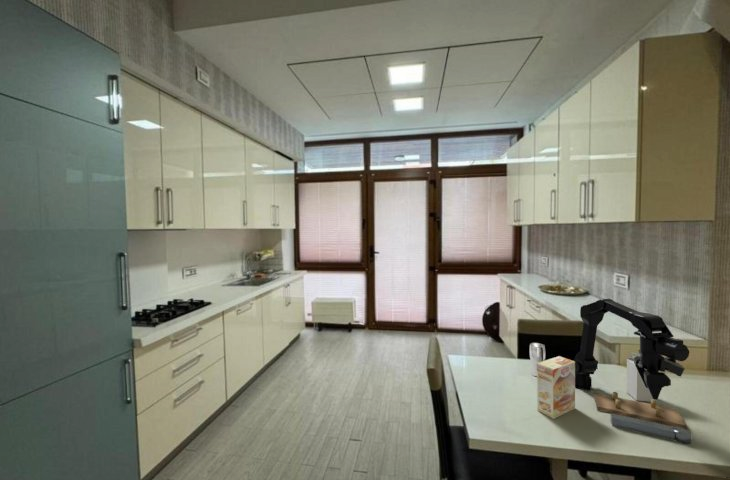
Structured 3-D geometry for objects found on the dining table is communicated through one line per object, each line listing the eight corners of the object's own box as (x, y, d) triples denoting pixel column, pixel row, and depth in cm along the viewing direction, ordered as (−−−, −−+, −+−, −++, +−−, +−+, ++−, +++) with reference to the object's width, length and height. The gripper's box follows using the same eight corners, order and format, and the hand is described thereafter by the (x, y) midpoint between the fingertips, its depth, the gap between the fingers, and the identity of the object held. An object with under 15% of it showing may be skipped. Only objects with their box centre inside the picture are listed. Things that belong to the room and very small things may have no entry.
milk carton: (656, 402, 130) (657, 357, 130) (636, 400, 132) (637, 356, 131) (644, 393, 137) (645, 351, 137) (626, 392, 139) (626, 349, 138)
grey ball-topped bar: (612, 426, 115) (612, 418, 115) (610, 420, 120) (610, 412, 119) (693, 445, 104) (693, 437, 104) (688, 437, 108) (688, 429, 108)
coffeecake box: (554, 419, 121) (553, 369, 120) (536, 410, 127) (535, 362, 127) (576, 408, 128) (575, 361, 127) (558, 400, 134) (558, 355, 134)
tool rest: (597, 410, 126) (597, 399, 126) (593, 396, 136) (593, 386, 136) (686, 429, 113) (686, 417, 113) (675, 412, 123) (675, 401, 123)
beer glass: (543, 372, 160) (543, 343, 160) (546, 378, 154) (546, 348, 153) (528, 370, 162) (528, 342, 162) (531, 376, 156) (530, 346, 156)
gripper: (691, 363, 101) (692, 411, 101) (671, 345, 117) (672, 387, 117) (646, 358, 107) (647, 403, 107) (633, 341, 123) (633, 380, 123)
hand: (651, 393), depth 113 cm, fingers open, 9 cm apart
